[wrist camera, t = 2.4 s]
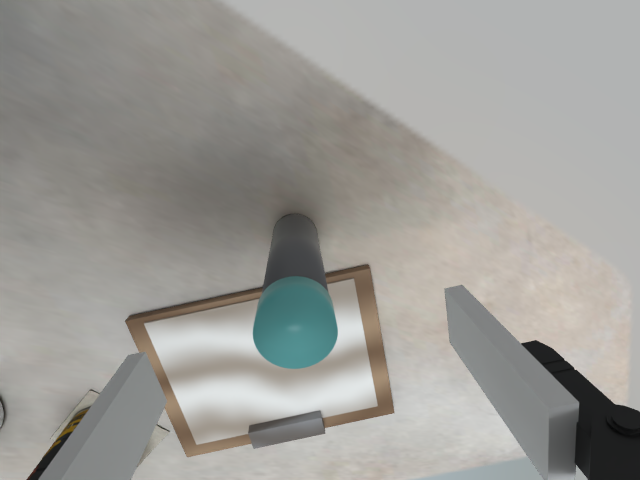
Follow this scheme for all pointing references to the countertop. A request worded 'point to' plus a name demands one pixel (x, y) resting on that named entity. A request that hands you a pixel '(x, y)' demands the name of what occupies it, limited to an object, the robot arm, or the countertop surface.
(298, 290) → the marker
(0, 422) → the fruit juice
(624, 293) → the countertop surface
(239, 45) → the countertop surface
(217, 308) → the clipboard
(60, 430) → the condiment
